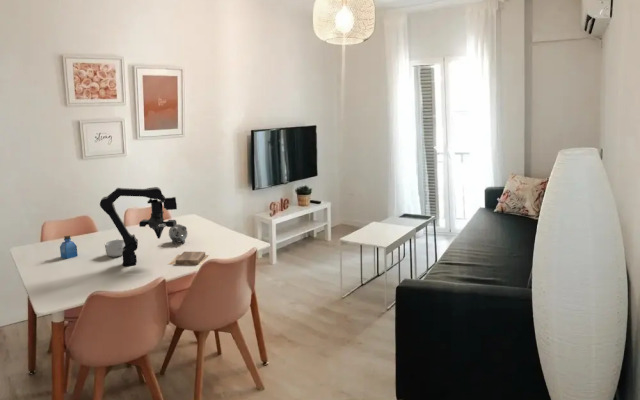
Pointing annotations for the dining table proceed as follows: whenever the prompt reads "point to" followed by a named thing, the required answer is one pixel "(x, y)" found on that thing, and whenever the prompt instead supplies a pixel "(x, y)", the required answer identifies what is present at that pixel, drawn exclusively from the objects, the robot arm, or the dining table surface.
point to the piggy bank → (178, 233)
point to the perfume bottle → (68, 248)
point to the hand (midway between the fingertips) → (159, 238)
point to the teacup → (114, 247)
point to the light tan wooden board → (187, 264)
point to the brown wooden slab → (190, 258)
